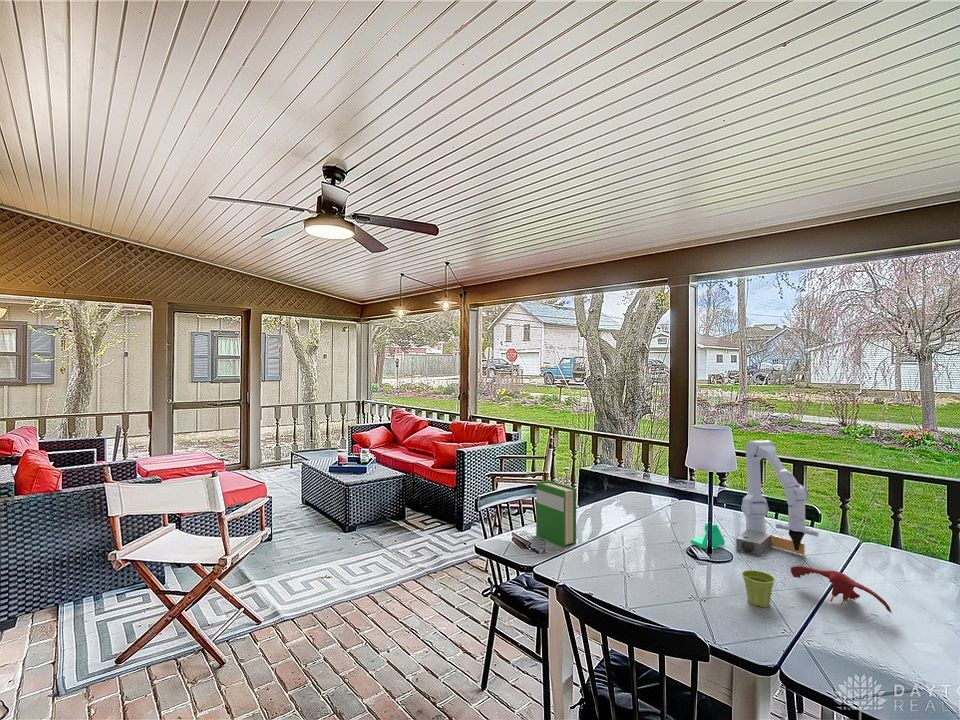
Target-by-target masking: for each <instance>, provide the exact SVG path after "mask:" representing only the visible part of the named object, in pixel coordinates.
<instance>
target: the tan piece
mask: <svg viewBox="0 0 960 720" xmlns="http://www.w3.org/2000/svg"><path fill="white" fill-rule="evenodd" d="M805 545H806V543H805V542H801V543H800V546H799V550H798V551H797V550H795V548H794V544H793V541H792V539H788V538H785V537H781V536H778V535H775V534H771V547H774V548H778V549H781V550H785V551H788V552H791V553H795V554H798V555H802V556H805V554H806V552H805V551H806V550H805V549H806V548H805Z"/></svg>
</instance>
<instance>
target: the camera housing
mask: <svg viewBox="0 0 960 720" xmlns="http://www.w3.org/2000/svg"><path fill="white" fill-rule="evenodd" d="M771 535H772V534H771V533H767V532H766V533H763V532H758V531H754V530H749V529H748V530H746V529H745V531H744V532H743V533H741V534H739V536H737V537H736V541H735V542H736V543H735V544H736V545H735V547H736V548H735V549H736V551H737V552H738V551H739V552H741V553H742V552H743V553H746V554H749V553H750V554H749V555H753V554H754V556H757V555H758V557H761V556H762V555H764V554H765V553H766V552H767V551H768V550H769V549H770V548H771V547H772V546H771ZM770 546H771V547H770ZM769 547H770V548H769ZM768 548H769V549H768ZM767 549H768V550H767ZM766 550H767V551H766Z"/></svg>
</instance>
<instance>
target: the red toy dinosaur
mask: <svg viewBox="0 0 960 720" xmlns="http://www.w3.org/2000/svg"><path fill="white" fill-rule="evenodd" d="M810 573H811V574H818V575H820V576H823V577H825V578H827V579H828V580H829V583H830V584H831V583H832V590H831V595H832V596H831V598H830V599H829V601H830V602H831V603H832V602H833V600H834V598H836V597H838V595H840V594H842V601H841V602H840V603H838V604H839V605H840V606H844V603H845V601H848V600H849V599H850V600H853V601H857V599H859V598H861V595H860V594H858V593H857V592H856V591H855V590H854V588H857V589H859V590H862V591H864V592H866V593H867V594H870V595H871V596H873V598H875V599H876V600H877V601H878V602H880V603H881V604H882V605H883V606H884V607H885V608H886V610H887V611H888V613H890V614H893V613H892V609H891V608H890V605H889V604H888V603H887V601H886V600H884V599H883V598H882V596H880V595H879V594H878V593H876V592H875V591H873V590H872V589H870V588H869V587H866V586H864V585H863V584H860V583H859V582H858V581H857V582H856V581H855V580H854V579H852V578H851V577H850V576H848V575H846V574H845V573H843V572H840V571H836V570H822V569H818V568H813V567H808V566H804V565H803V566H802V565H797V566H792V567H790V574H791V575H792V577H793V578H798V579H801V576H802V577H804V576H805V575H810Z"/></svg>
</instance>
